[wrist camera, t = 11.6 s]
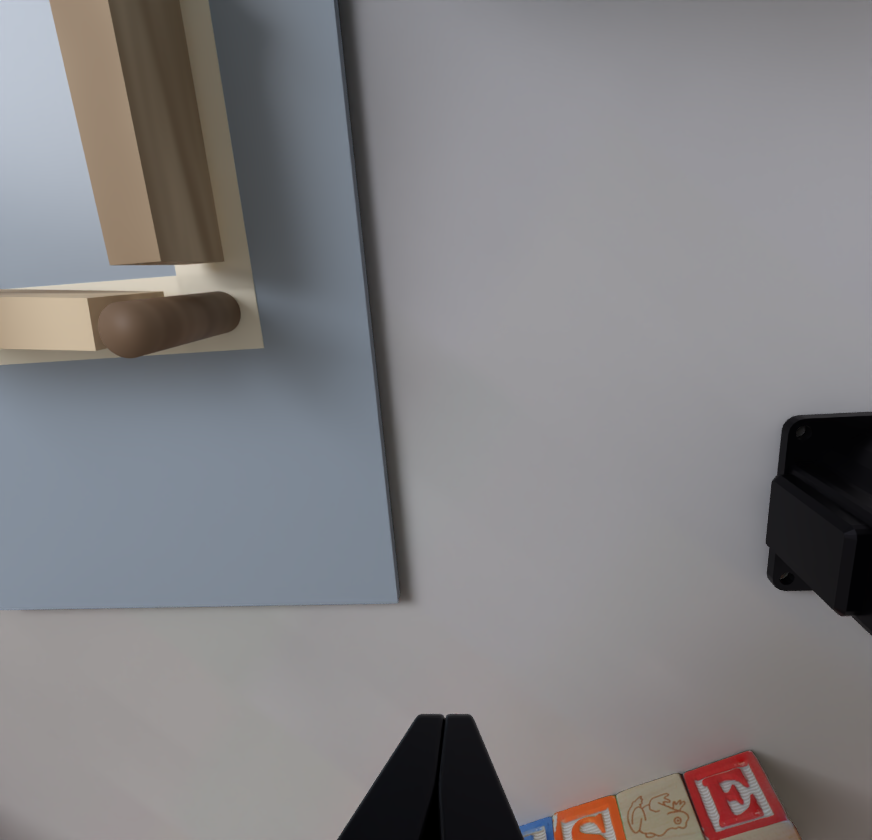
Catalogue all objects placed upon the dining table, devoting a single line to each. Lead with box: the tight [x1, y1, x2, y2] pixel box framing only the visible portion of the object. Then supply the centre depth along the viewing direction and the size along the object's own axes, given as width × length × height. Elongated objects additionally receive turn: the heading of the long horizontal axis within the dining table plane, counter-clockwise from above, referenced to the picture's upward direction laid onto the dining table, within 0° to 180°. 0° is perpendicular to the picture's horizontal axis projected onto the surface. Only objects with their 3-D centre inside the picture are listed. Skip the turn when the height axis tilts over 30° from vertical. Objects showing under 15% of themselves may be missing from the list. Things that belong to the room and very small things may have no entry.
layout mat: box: [0, 0, 400, 610], centre depth 19 cm, size 17×23×1 cm
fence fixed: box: [49, 0, 241, 358], centre depth 15 cm, size 1×12×6 cm, turn 4°
